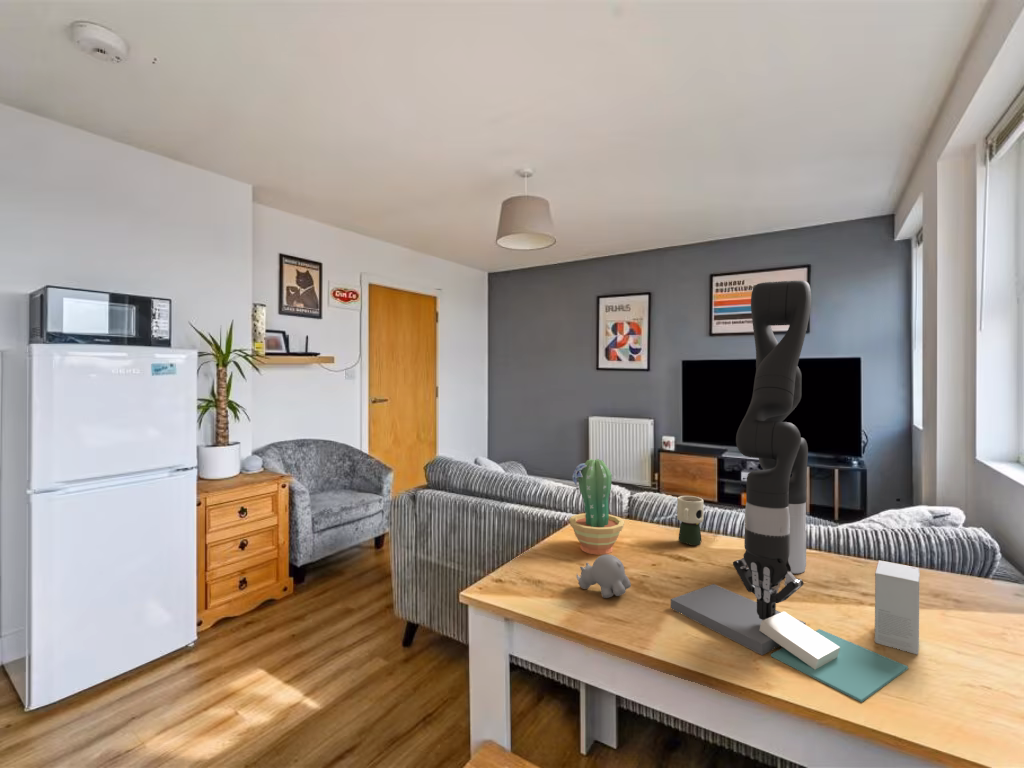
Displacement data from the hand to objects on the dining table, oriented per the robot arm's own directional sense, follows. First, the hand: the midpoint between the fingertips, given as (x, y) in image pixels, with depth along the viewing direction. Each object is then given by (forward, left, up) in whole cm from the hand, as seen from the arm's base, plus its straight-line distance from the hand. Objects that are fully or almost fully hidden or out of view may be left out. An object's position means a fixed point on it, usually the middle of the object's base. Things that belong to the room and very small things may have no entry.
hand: (765, 619), depth 92 cm
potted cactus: (-3, -51, -3) cm, 52 cm away
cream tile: (0, +6, -1) cm, 6 cm away
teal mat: (-2, +11, -3) cm, 12 cm away
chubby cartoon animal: (+14, -30, -3) cm, 33 cm away
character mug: (-29, -41, -3) cm, 50 cm away
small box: (-19, +13, -3) cm, 24 cm away
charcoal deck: (0, -7, -3) cm, 7 cm away
